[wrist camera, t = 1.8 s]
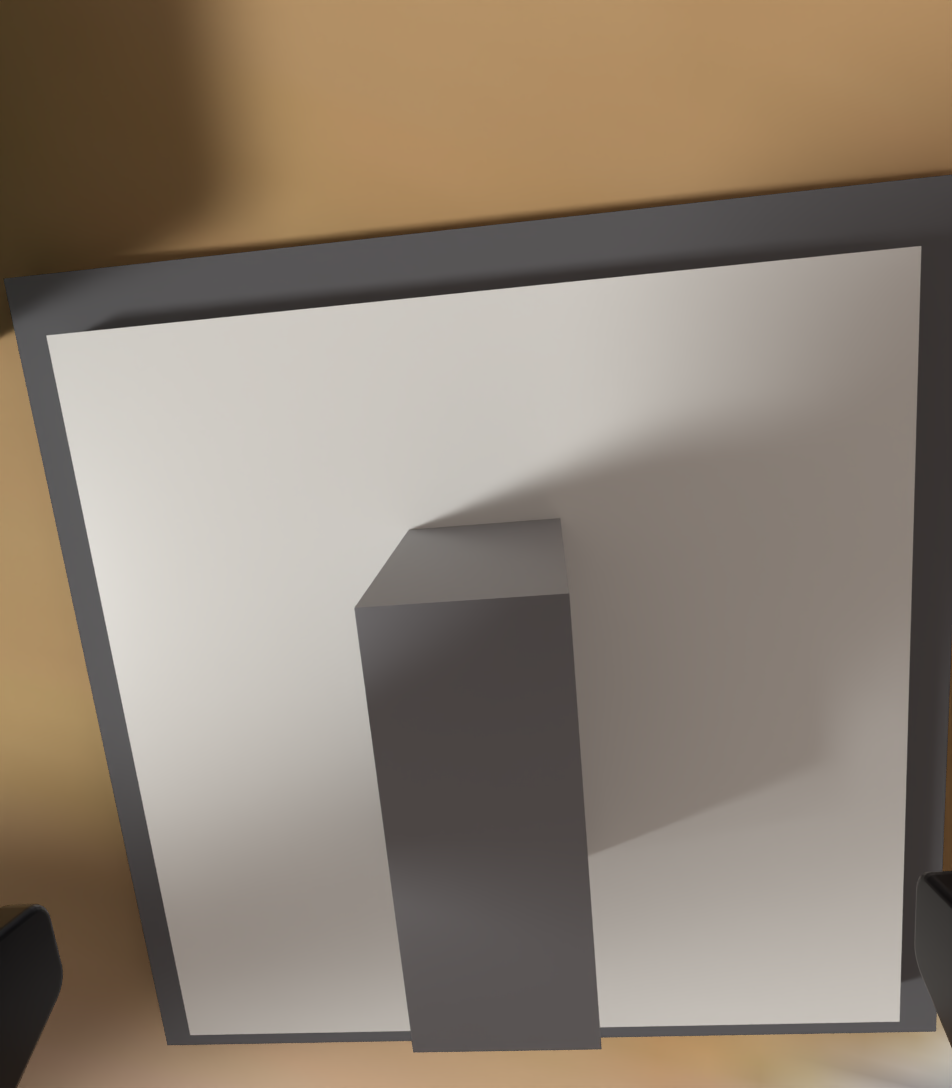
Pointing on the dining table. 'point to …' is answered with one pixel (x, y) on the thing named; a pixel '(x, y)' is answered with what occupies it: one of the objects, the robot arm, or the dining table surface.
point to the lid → (519, 648)
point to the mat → (507, 262)
